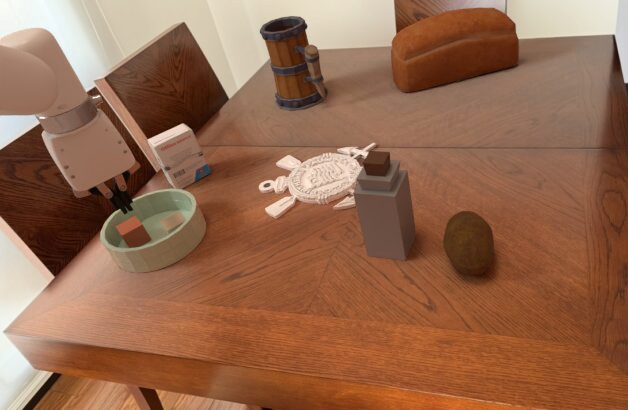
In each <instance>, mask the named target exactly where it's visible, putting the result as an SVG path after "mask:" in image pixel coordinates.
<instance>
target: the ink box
mask: <svg viewBox="0 0 628 410" xmlns="http://www.w3.org/2000/svg"><path fill="white" fill-rule="evenodd" d="M146 141H147V144H148V146H149V147H150V150H151V151H152V153H153V155H154V156H155V159H156V160H157V163H158V165H159V166H160V168H161V170H162V172H163V174H164V177H166V179H167V182H168V183H169V184H170V186H172V188H173V189H182V190H183V189H184V188H186V187H188V186H190V185H192V184H194V183H195V182H197V181H199V180H201V179H203V178H205V177H206V176H208V175H210V174H212V171H211V168H210V166H209V163H208V161H207V159H206V157H205V154H204V152H203V151H202V148H201V146H200V144H199V142H198V139H197V137H196V134H195V133H194V131H193V129H192V128H190V127H189V126H188V125H187V124H185V123H180V124H179V125H176V126H174V127H172V128H170V129H168V130H165V131H163V132H161V133H159V134H157V135H154V136H152V137H150V138H148V139H147V140H146Z"/></svg>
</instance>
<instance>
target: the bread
mask: <svg viewBox="0 0 628 410" xmlns="http://www.w3.org/2000/svg"><path fill="white" fill-rule="evenodd" d="M519 59H520V41H519V37H518V33H517V24H516V22H515V21H513V19H511V17H509V16H508V15H507V14H506V13H504V12H503V11H502V10H500V9H498V8H496V7H470V8H457V9H453V10H445V11H444V12H441V13H437V14H434V15H431V16H429V17H426V18H423V19H421V20H419V21H416V22H414V23H412V24H410V25H408V26H406V27H404V28H402V29H401V30H400V31H398V32H397V33H396V34H395V35H394V37H393V38H392V41H391V49H390V63H391V72H392V73H391V74H392V79H393V82H394V84H395V86H396V87H397V88H398V90H400V91H402V92H403V93H411V92H416V91H420V90H425V89H428V88H432V87H437V86H441V85H445V84H448V83H453V82H457V81H460V80H465V79H468V78H472V77H477V76H481V75H484V74H489V73H492V72H496V71H499V70H504V69H508V68H511V67H515V66H517V65H518V63H519V61H520V60H519Z"/></svg>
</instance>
